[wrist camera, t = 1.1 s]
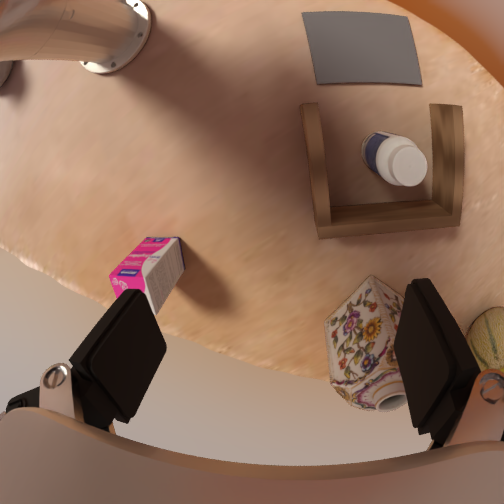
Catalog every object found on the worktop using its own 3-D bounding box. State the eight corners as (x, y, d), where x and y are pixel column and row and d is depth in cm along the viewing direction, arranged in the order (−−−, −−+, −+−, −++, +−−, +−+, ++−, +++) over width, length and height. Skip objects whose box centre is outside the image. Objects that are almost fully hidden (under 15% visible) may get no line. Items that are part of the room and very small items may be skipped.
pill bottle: (365, 175, 32) (390, 199, 24) (355, 135, 30) (380, 144, 22) (402, 167, 31) (436, 188, 22) (393, 127, 29) (429, 135, 20)
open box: (299, 105, 29) (302, 103, 24) (438, 104, 26) (462, 106, 21) (314, 219, 36) (318, 239, 31) (439, 209, 33) (459, 226, 27)
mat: (301, 13, 23) (301, 12, 23) (406, 17, 21) (407, 16, 20) (316, 84, 28) (317, 83, 27) (420, 85, 25) (422, 84, 25)
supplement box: (179, 234, 40) (146, 278, 30) (186, 269, 43) (158, 317, 33) (145, 235, 40) (106, 275, 30) (153, 268, 43) (121, 313, 33)
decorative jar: (321, 320, 44) (329, 415, 29) (369, 271, 39) (403, 366, 23) (369, 345, 46) (385, 429, 31) (414, 304, 41) (450, 388, 25)
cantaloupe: (506, 321, 41) (533, 367, 28) (459, 354, 46) (480, 405, 33) (505, 279, 36) (543, 328, 23) (451, 318, 41) (480, 377, 28)
